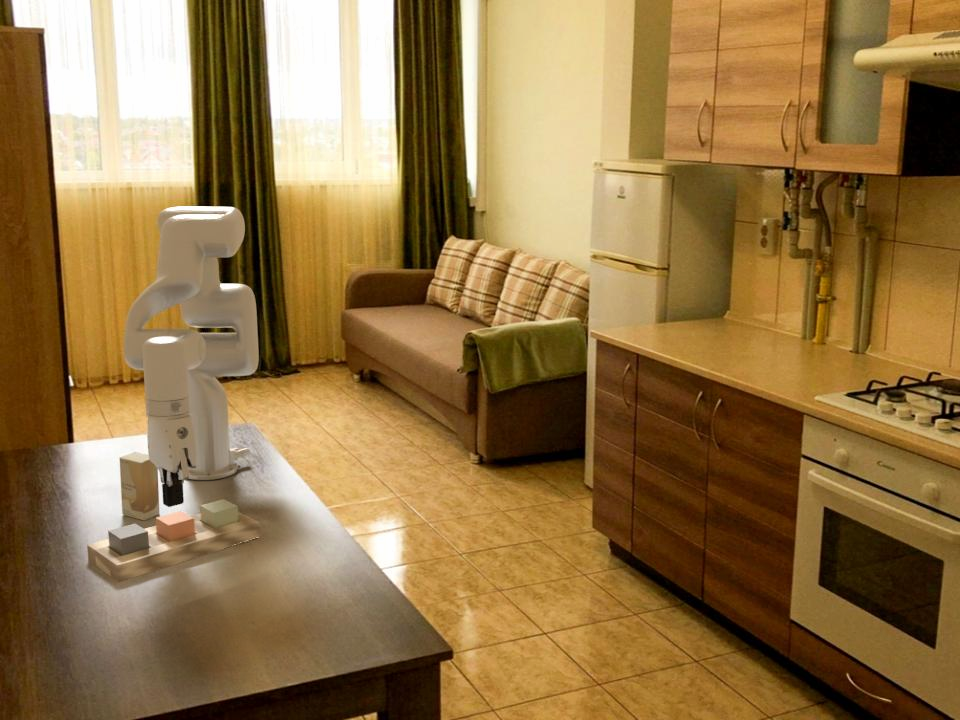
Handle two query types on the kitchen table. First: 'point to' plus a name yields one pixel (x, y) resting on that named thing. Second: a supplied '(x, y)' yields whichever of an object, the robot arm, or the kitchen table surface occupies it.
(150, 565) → the board
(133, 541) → the charcoal key
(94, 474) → the kitchen table surface
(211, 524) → the sage key
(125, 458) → the skincare box
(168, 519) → the terracotta key
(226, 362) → the robot arm
